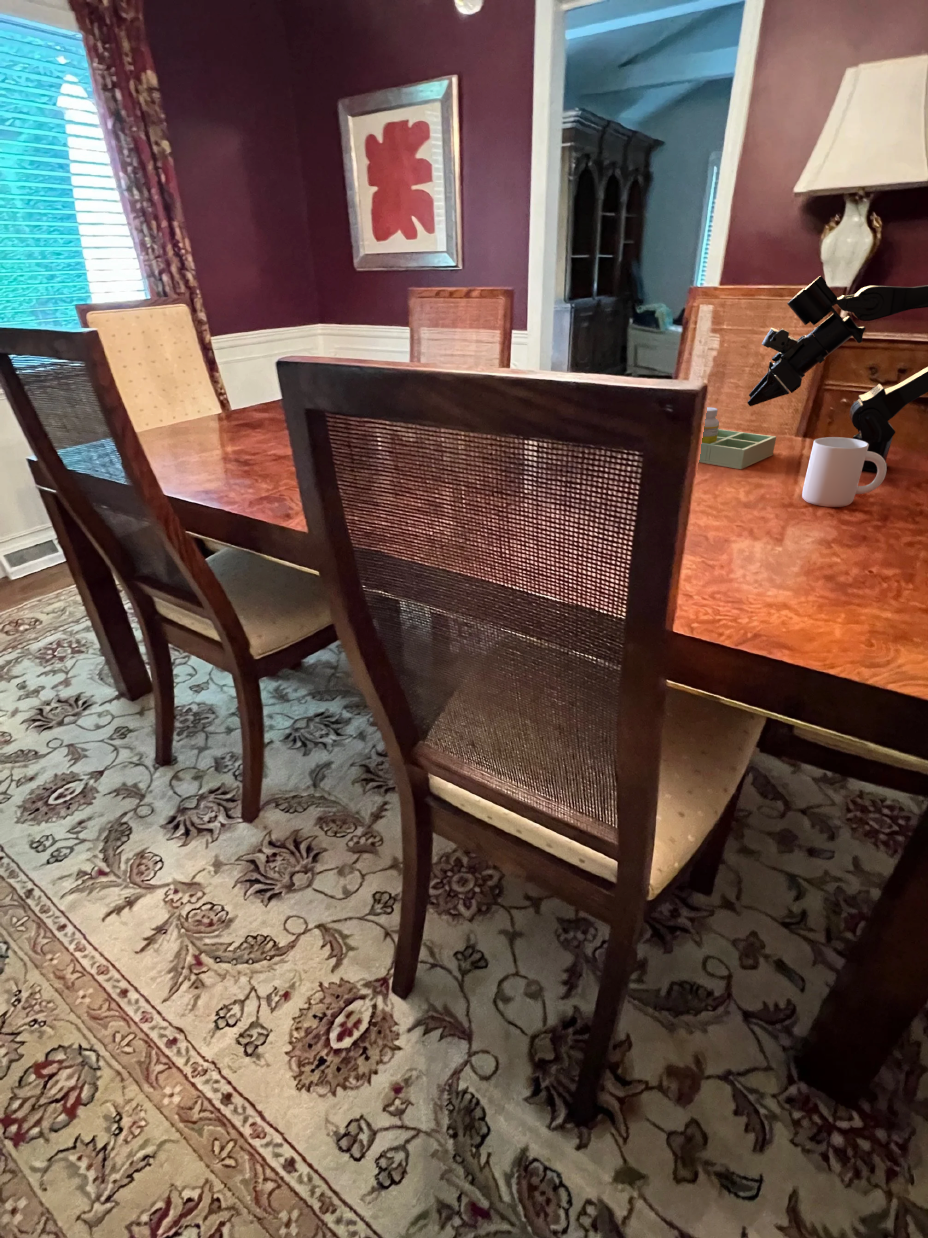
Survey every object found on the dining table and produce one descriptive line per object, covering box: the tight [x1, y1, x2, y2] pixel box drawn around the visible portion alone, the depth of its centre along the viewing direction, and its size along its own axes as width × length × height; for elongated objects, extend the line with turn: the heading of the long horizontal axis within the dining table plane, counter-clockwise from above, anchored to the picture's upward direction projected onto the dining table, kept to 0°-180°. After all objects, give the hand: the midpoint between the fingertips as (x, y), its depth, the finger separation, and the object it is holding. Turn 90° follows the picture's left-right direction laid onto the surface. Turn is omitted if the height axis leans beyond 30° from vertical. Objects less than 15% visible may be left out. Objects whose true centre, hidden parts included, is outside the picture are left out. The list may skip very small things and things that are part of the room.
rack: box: [698, 428, 777, 470], centre depth 139 cm, size 15×15×4 cm
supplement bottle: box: [702, 406, 720, 444], centre depth 137 cm, size 5×5×10 cm
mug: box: [801, 436, 888, 508], centre depth 108 cm, size 12×8×10 cm
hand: (749, 400), depth 131 cm, fingers open, 9 cm apart
